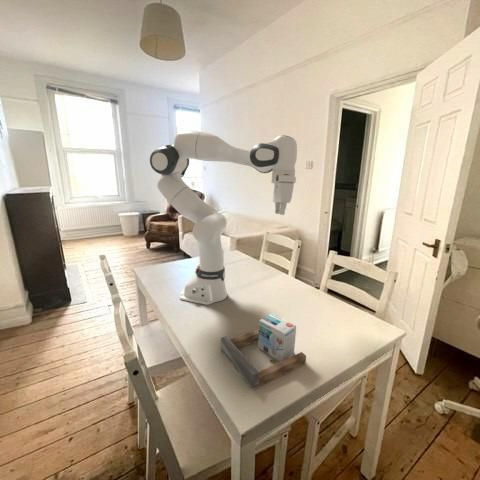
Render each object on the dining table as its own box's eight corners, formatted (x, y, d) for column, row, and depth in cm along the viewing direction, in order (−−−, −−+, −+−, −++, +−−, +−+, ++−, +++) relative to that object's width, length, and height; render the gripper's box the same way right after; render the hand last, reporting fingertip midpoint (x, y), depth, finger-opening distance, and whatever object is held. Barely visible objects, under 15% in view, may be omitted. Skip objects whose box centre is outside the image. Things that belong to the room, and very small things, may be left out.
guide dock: (268, 332, 100) (269, 320, 98) (305, 363, 84) (306, 350, 83) (221, 350, 90) (220, 337, 88) (252, 390, 74) (252, 375, 73)
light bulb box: (257, 347, 91) (258, 319, 88) (269, 339, 96) (271, 312, 93) (282, 363, 84) (284, 334, 81) (295, 353, 88) (297, 325, 86)
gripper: (270, 180, 116) (267, 212, 118) (279, 176, 95) (276, 214, 97) (285, 181, 116) (282, 213, 118) (297, 177, 96) (293, 216, 98)
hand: (279, 214), depth 107 cm, fingers open, 8 cm apart
